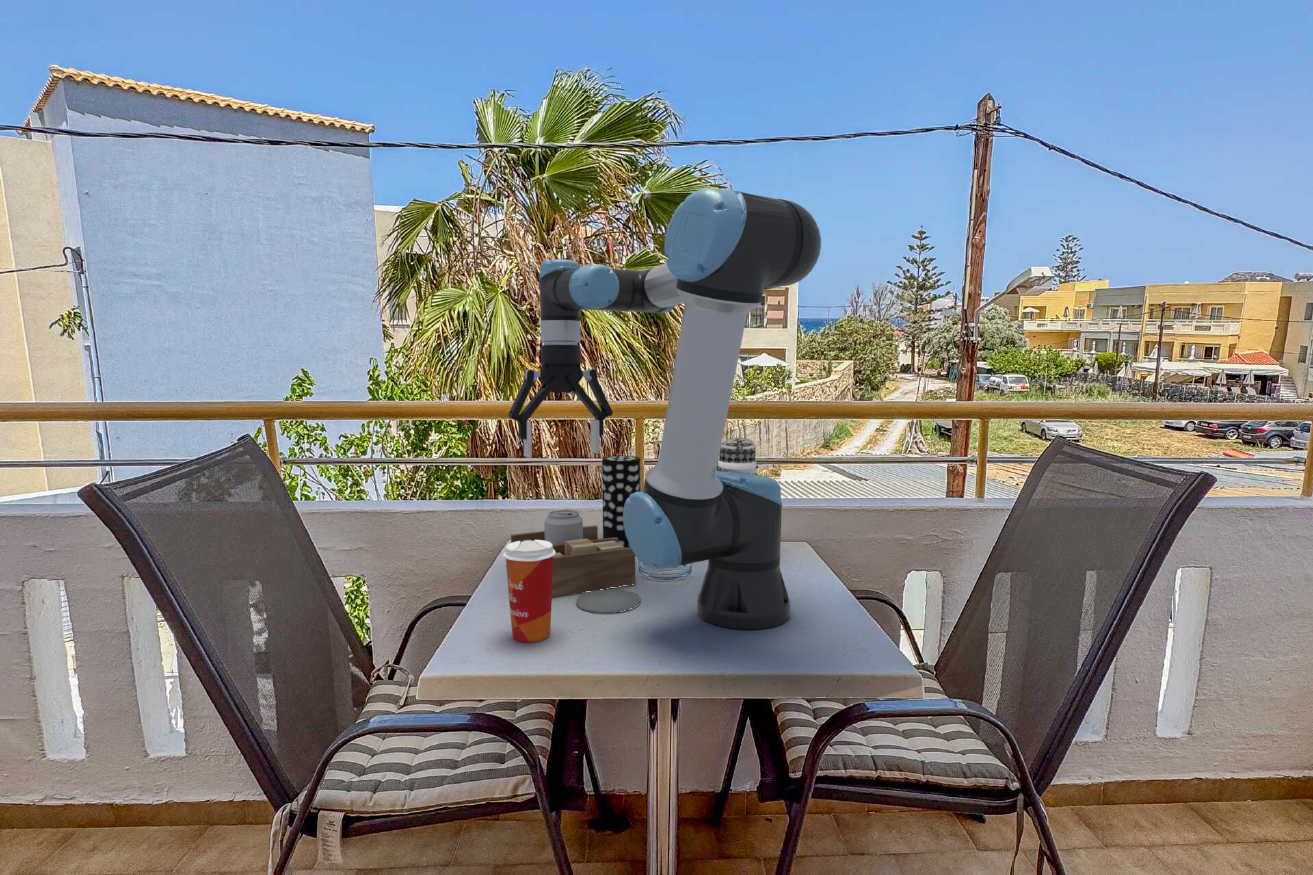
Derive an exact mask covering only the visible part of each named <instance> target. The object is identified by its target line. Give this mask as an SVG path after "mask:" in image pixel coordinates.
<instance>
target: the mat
mask: <svg viewBox="0 0 1313 875" xmlns="http://www.w3.org/2000/svg"><path fill="white" fill-rule="evenodd" d="M575 601H576V602H575V603H576V607H577V606H578V607H579V608H578V607H577V608H578V609H580V608H581V609H580V610H582V611H584V610H586V611H585V612H587V611H589V612H588V613H591V612H592V613H591V614H598V613H614V614H616V613H615V612H620V611H624V610H629V609H630V608H634V607H635V606H637V605H638V604H639V603H640V604H641V597H640V595H639V594H637V593H635V592H633V591H629V590H624V589H618V588H613V589H603V590H595V591H591V592H587V593H581V594H579V595H578V596H577V598H576V600H575ZM593 612H594V613H593Z"/></svg>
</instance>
